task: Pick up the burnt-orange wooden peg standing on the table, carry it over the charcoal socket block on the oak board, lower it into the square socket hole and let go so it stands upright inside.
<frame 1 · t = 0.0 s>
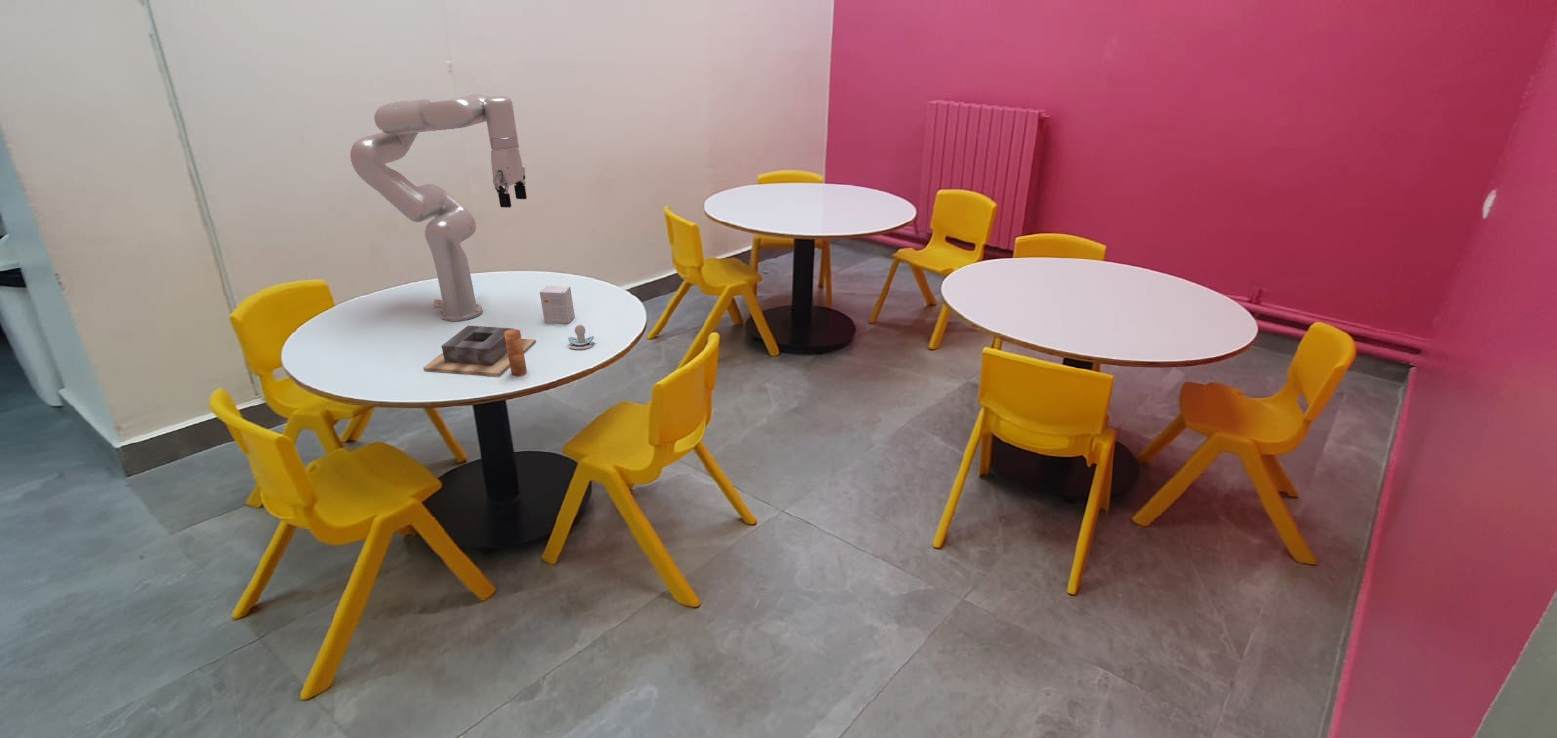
hand: (513, 202, 217), 37 cm above the table, tool pointing down, fingers open, 9 cm apart
pacifier: (581, 346, 216), on the table
socket: (482, 356, 209), on the table
peg: (519, 372, 200), on the table
small box: (559, 321, 233), on the table
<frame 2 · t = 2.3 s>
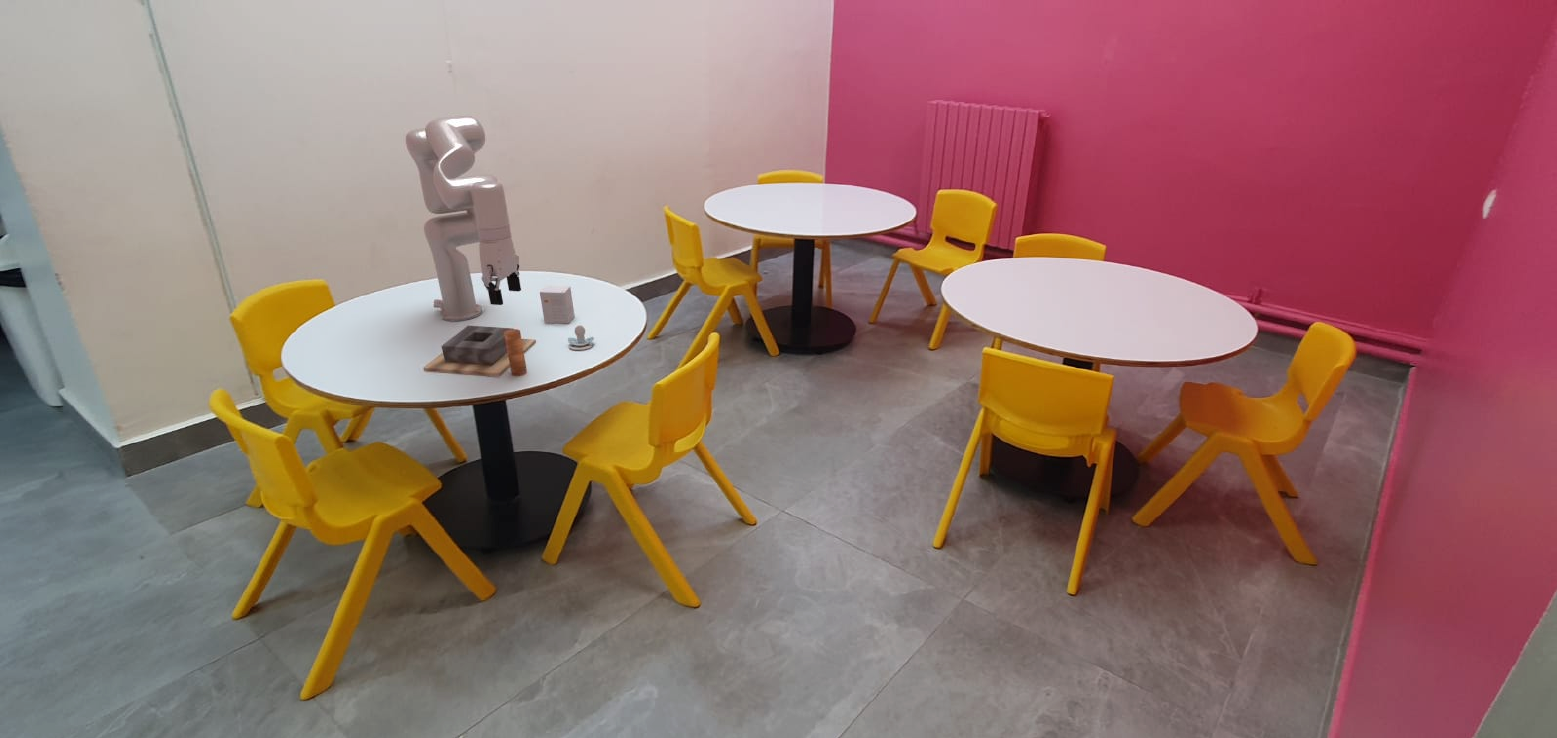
hand: (506, 297, 190), 22 cm above the table, tool pointing down, fingers open, 9 cm apart
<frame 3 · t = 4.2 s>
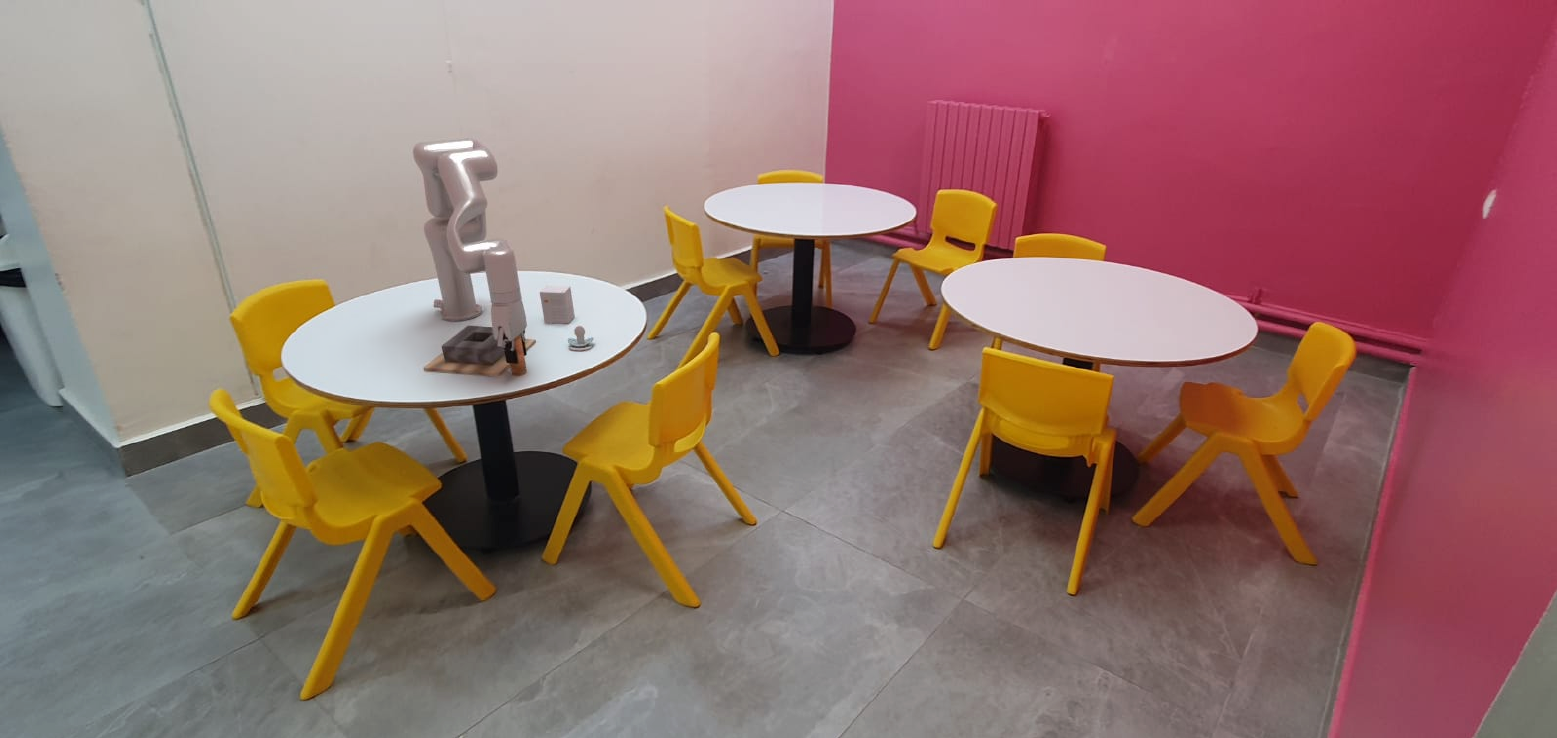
hand: (516, 358, 198), 4 cm above the table, tool pointing down, fingers closed on peg, 4 cm apart
peg: (519, 372, 200), on the table, touching gripper
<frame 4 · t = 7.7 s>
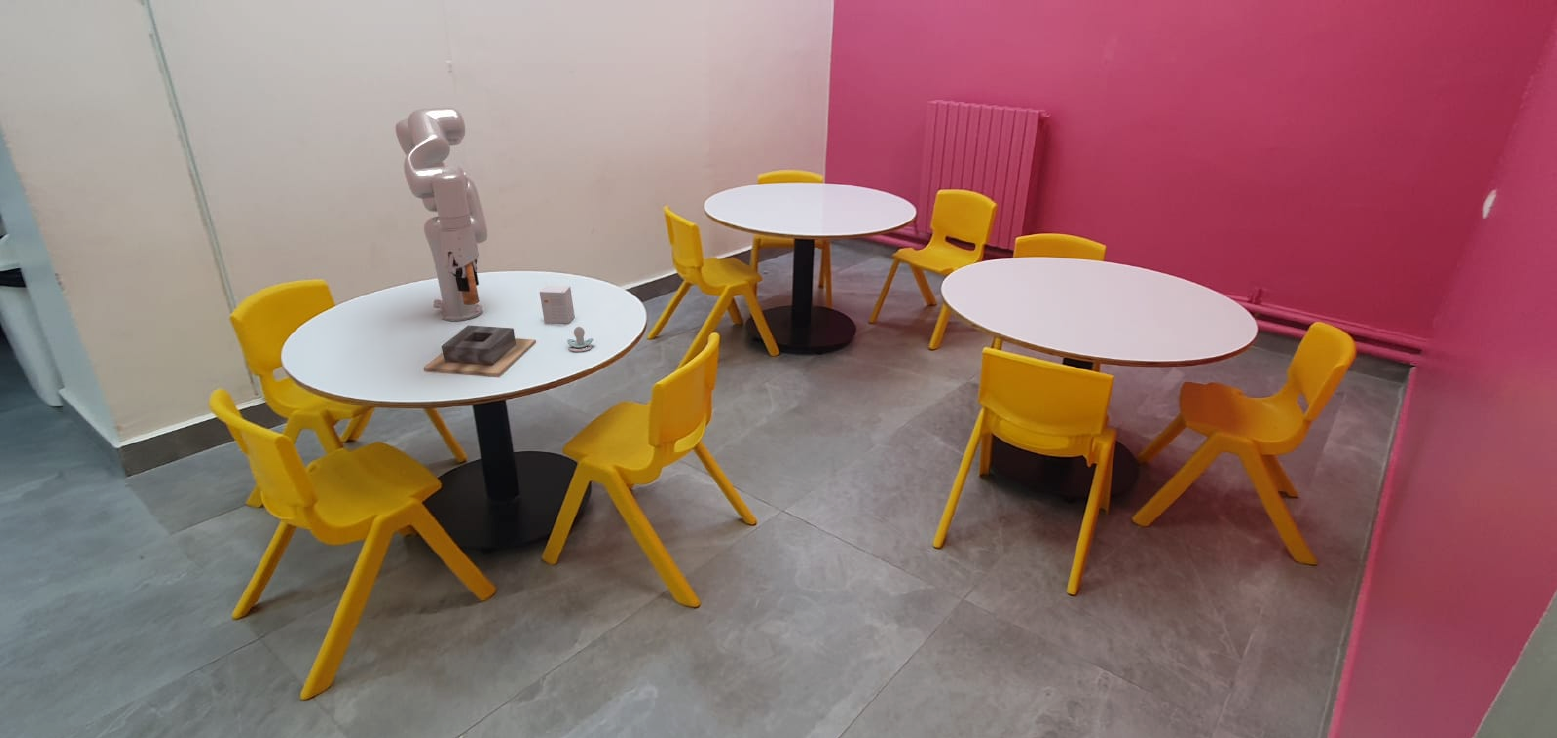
hand: (468, 287, 200), 21 cm above the table, tool pointing down, fingers closed on peg, 4 cm apart
peg: (471, 302, 202), point 16 cm above the table, touching gripper
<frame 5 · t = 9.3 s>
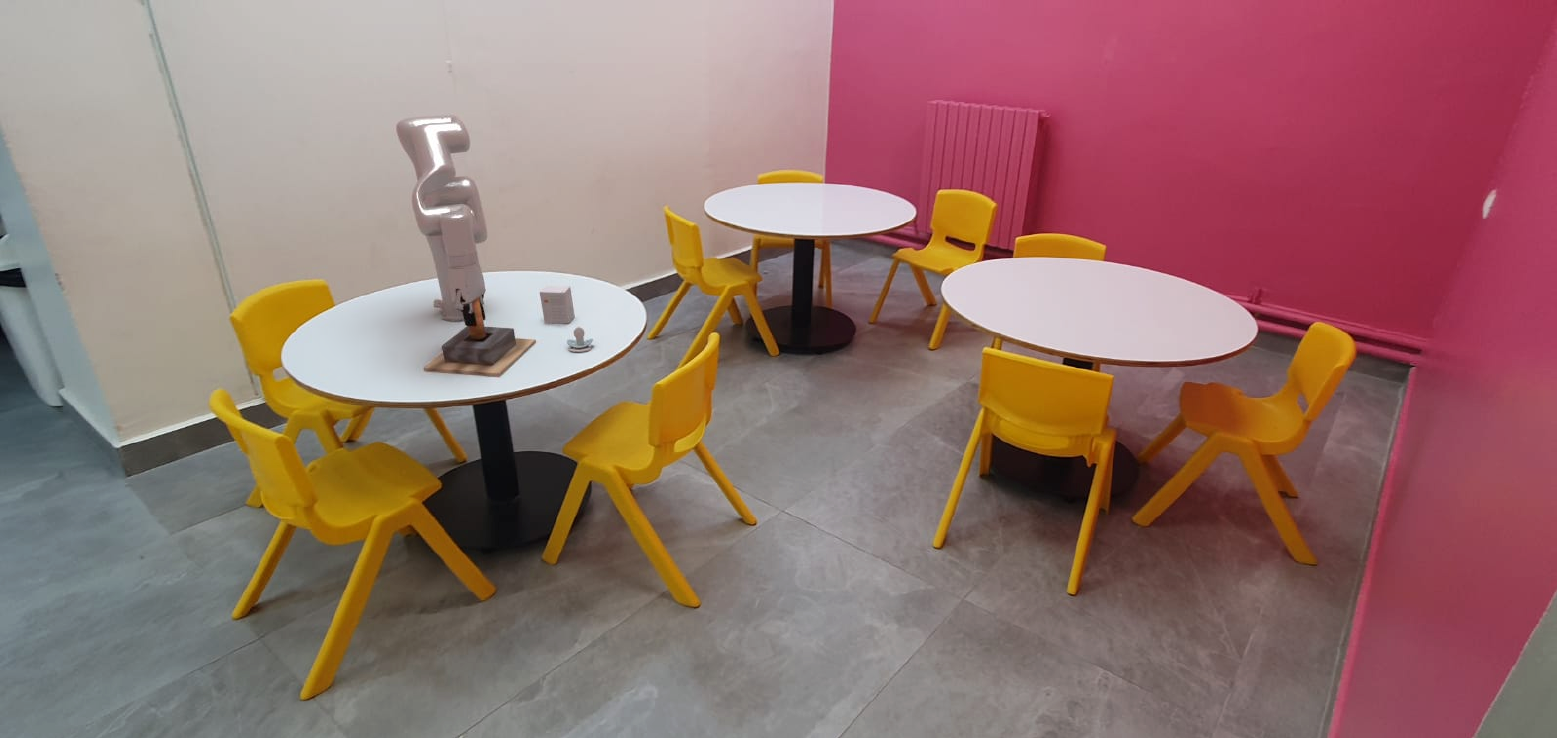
hand: (475, 321, 204), 11 cm above the table, tool pointing down, fingers closed on peg, 4 cm apart
peg: (478, 336, 206), point 6 cm above the table, touching gripper
when the fingers open (8 cm above the table, at t = 10.7 s): peg drops 2 cm, resting on socket.
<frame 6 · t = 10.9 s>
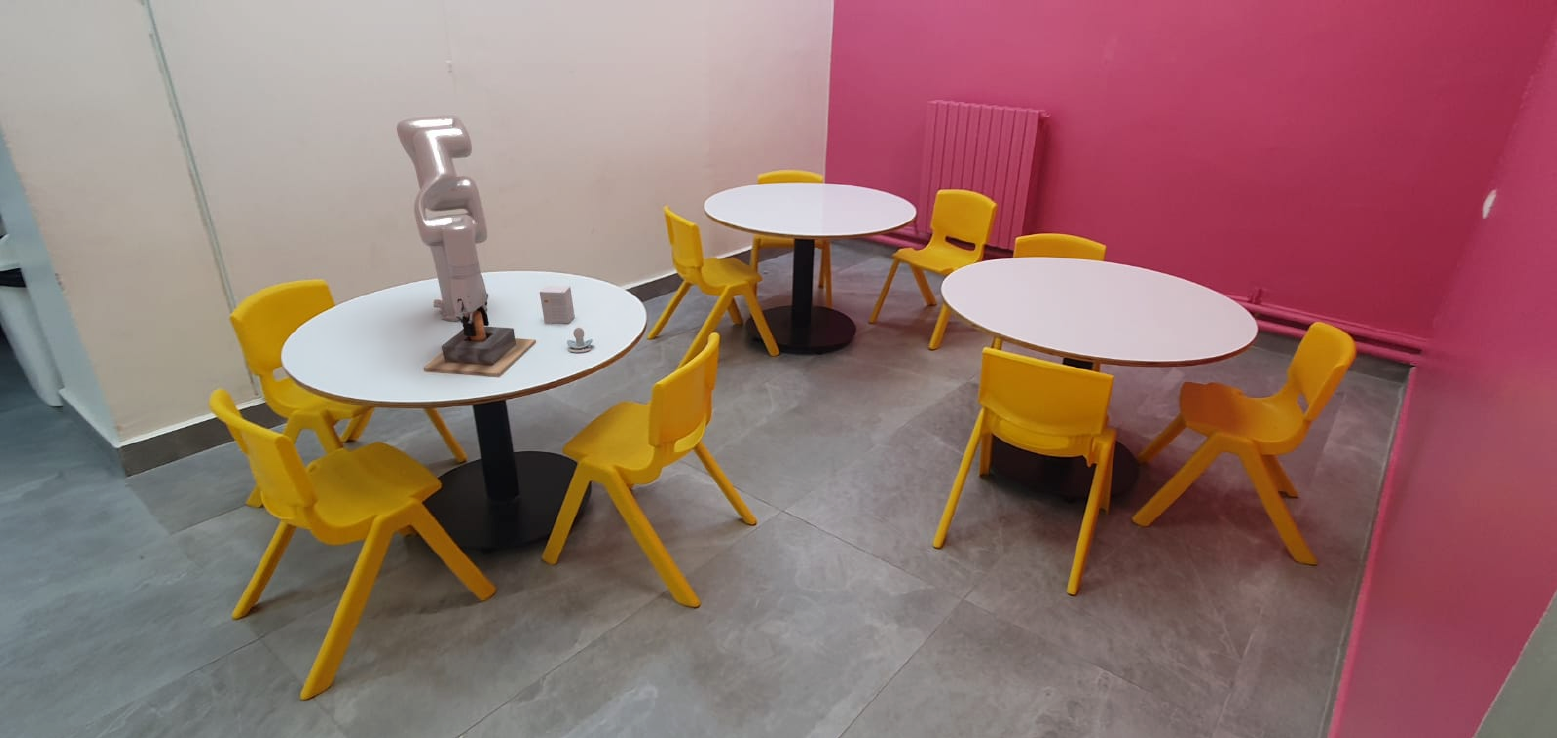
hand: (477, 330, 206), 8 cm above the table, tool pointing down, fingers open, 6 cm apart
peg: (481, 352, 209), point 1 cm above the table, touching socket
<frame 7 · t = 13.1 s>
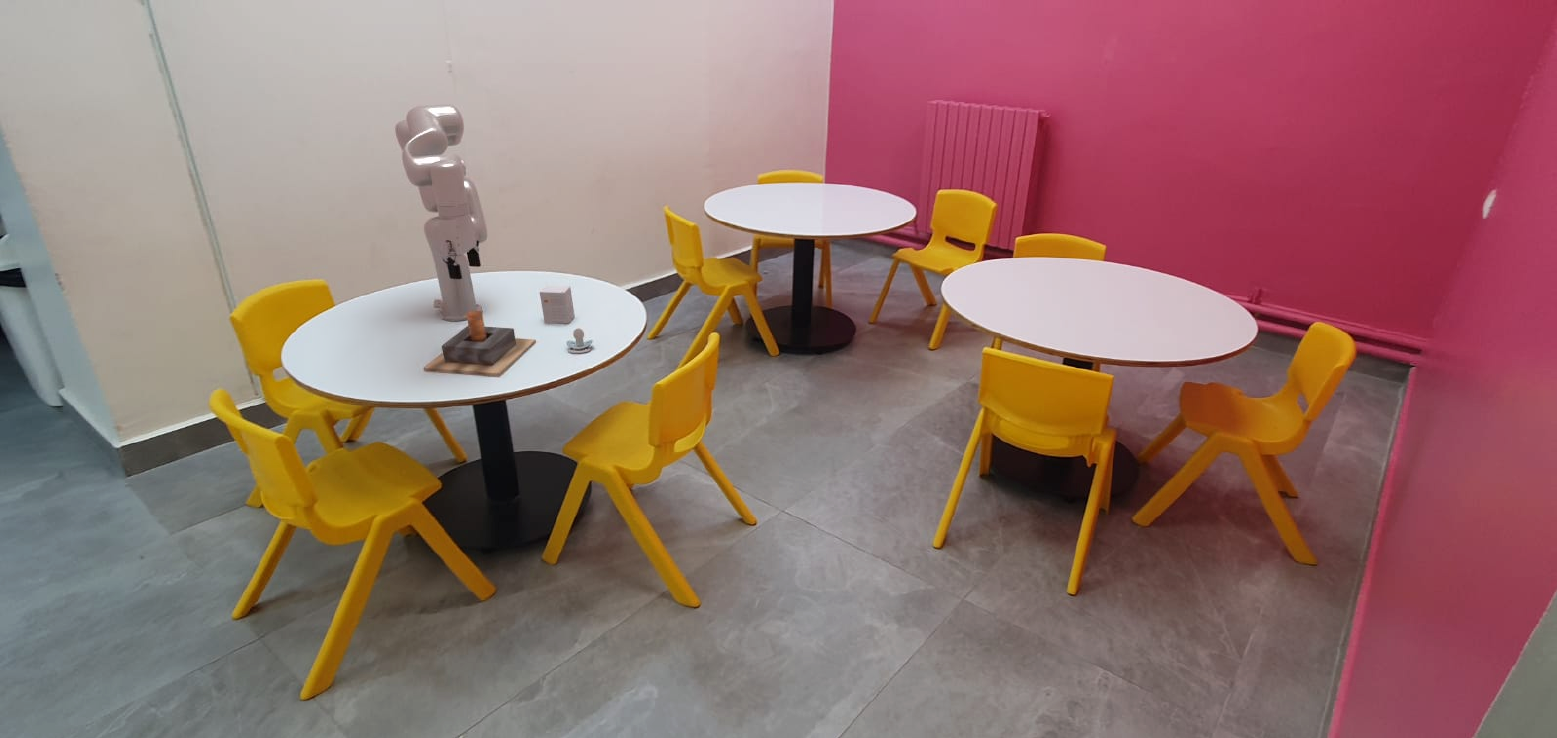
hand: (465, 272, 200), 24 cm above the table, tool pointing down, fingers open, 9 cm apart
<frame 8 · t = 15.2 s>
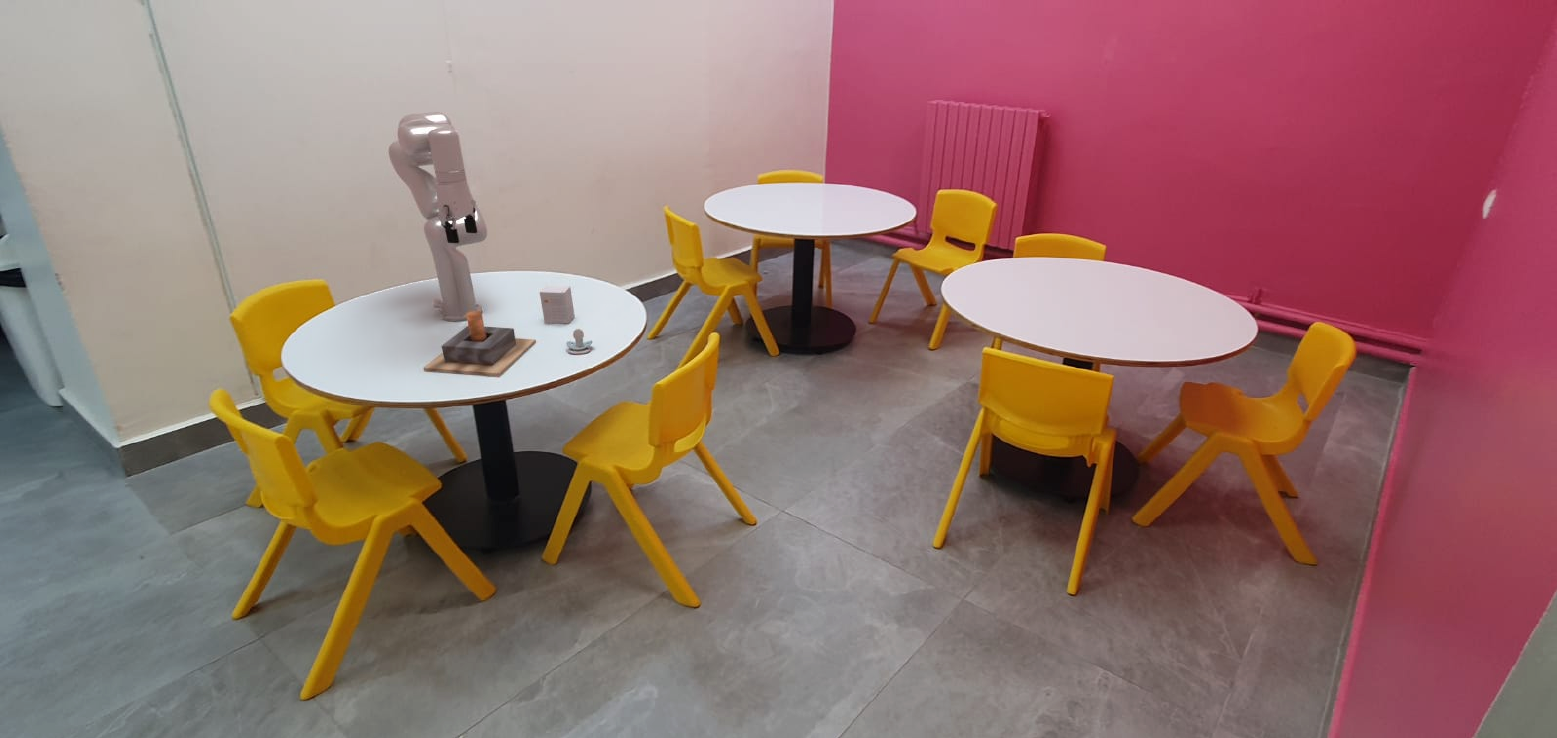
hand: (463, 237, 208), 30 cm above the table, tool pointing down, fingers open, 9 cm apart
at the end: peg 0.1 cm off-centre on the socket, point 1.0 cm above the socket's base; peg tilted 0°; the gripper is holding nothing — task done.
